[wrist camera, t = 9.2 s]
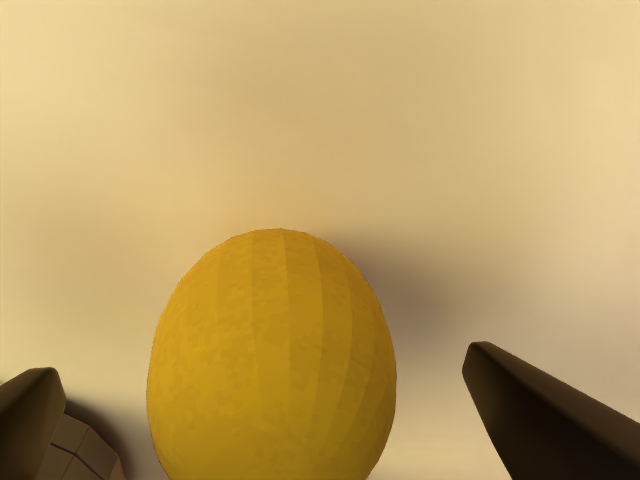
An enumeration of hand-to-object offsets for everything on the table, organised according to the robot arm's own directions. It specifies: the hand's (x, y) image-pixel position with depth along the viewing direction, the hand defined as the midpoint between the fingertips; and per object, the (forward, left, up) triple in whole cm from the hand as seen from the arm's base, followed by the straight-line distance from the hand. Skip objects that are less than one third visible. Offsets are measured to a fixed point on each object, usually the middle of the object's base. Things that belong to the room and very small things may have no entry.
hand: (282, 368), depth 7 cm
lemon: (0, 0, -5) cm, 5 cm away
